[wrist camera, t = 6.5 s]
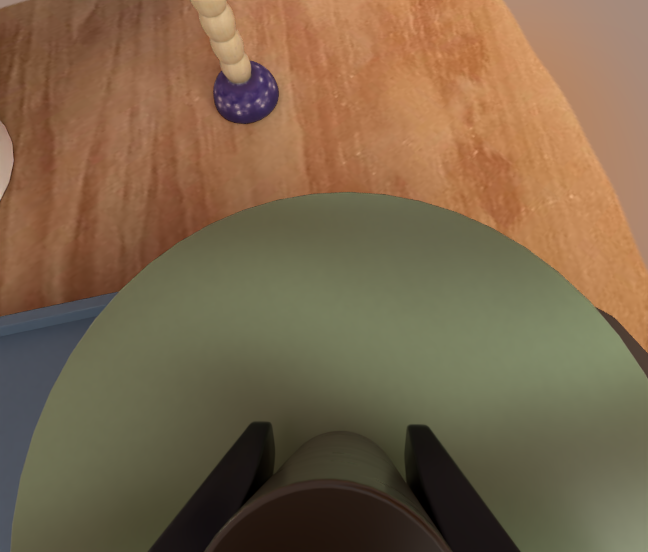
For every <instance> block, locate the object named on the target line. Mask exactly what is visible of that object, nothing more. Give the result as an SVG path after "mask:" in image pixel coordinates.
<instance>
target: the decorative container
mask: <svg viewBox="0 0 648 552" xmlns="http://www.w3.org/2000/svg"><path fill="white" fill-rule="evenodd" d="M13 162H14V158H13V147H12V141H11V138H10V136H9V134H8V132H7V130H6V127H5V126H4V125H3V124H2V123H1V122H0V200H1V198H2V196H3V194H4V191H5V189H6V187H7V185H8V183H9V181H10V176H11V171H12V167H13Z"/></svg>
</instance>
